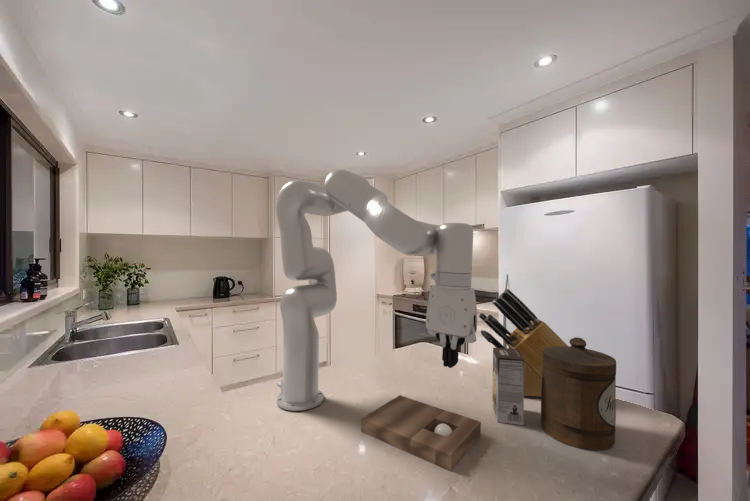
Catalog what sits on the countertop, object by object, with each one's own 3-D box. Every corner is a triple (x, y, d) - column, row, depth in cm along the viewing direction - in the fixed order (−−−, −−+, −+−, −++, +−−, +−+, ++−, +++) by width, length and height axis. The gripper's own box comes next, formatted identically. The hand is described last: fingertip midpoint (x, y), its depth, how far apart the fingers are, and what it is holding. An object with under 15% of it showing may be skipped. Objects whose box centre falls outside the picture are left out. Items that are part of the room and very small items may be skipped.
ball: (428, 439, 72) (434, 422, 72) (436, 433, 75) (442, 417, 75) (444, 451, 69) (451, 434, 69) (451, 445, 73) (458, 428, 72)
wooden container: (625, 457, 68) (627, 350, 68) (545, 442, 73) (546, 342, 73) (604, 423, 82) (605, 333, 82) (537, 412, 87) (538, 328, 87)
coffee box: (491, 405, 90) (492, 346, 90) (516, 408, 89) (517, 348, 89) (496, 422, 81) (497, 357, 81) (524, 425, 80) (525, 359, 80)
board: (361, 431, 76) (361, 418, 76) (399, 406, 89) (399, 395, 89) (450, 471, 63) (450, 455, 63) (480, 435, 76) (480, 421, 76)
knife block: (476, 380, 108) (477, 285, 108) (592, 387, 104) (594, 288, 104) (483, 395, 97) (485, 289, 97) (614, 403, 93) (615, 292, 93)
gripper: (414, 278, 73) (411, 361, 73) (481, 285, 64) (477, 380, 64) (430, 276, 79) (427, 353, 79) (494, 282, 70) (490, 369, 70)
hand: (449, 365), depth 72 cm, fingers closed
